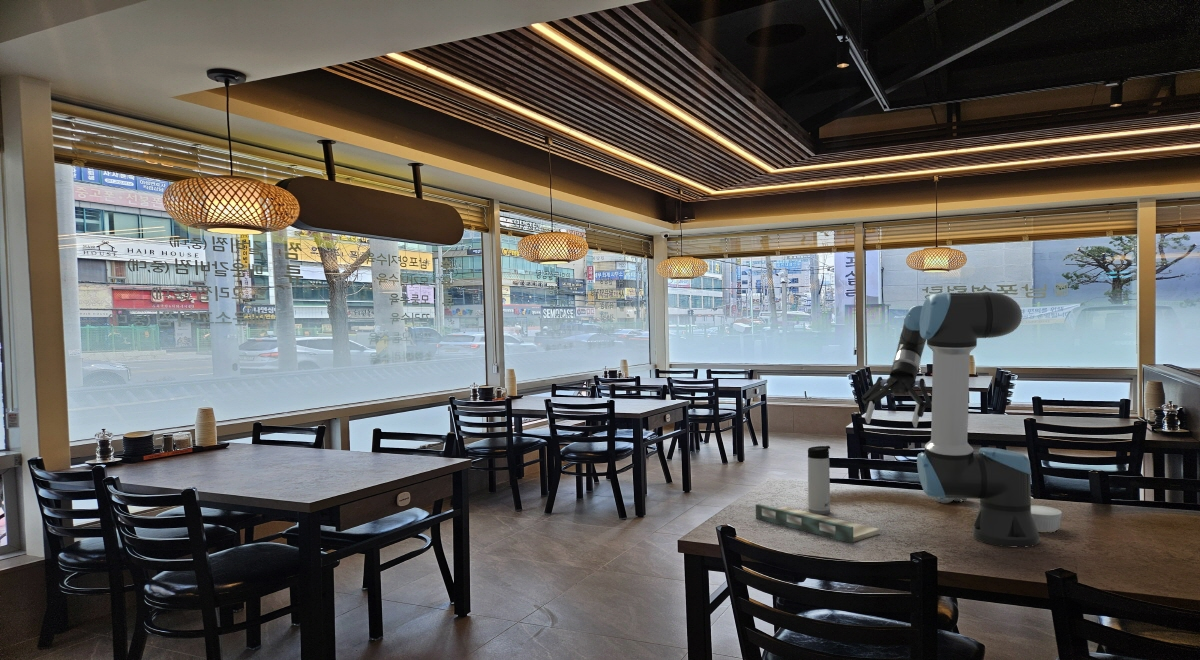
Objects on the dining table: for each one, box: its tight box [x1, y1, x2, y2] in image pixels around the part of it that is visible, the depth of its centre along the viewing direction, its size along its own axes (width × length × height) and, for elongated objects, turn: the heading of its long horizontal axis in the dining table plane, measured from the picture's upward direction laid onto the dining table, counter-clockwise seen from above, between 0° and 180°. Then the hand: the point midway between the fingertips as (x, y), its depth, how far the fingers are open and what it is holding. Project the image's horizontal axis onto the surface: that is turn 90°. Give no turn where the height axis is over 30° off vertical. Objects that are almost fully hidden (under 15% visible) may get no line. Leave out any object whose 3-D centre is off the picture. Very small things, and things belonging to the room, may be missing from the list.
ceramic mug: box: [934, 497, 967, 504], centre depth 233 cm, size 11×8×8 cm
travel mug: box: [807, 445, 831, 516], centre depth 222 cm, size 6×7×20 cm
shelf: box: [755, 503, 881, 543], centre depth 207 cm, size 32×13×4 cm, turn 37°
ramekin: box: [1031, 504, 1063, 532], centre depth 201 cm, size 11×11×5 cm
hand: (890, 422), depth 217 cm, fingers open, 13 cm apart
